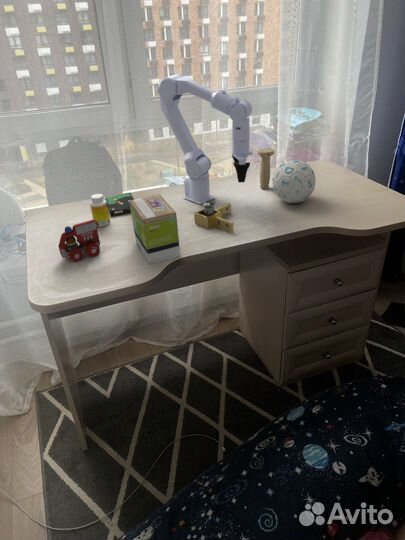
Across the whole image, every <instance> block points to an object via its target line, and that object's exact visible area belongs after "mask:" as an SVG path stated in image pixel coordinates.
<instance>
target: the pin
mask: <svg viewBox="0 0 405 540" xmlns="http://www.w3.org/2000/svg"><path fill="white" fill-rule="evenodd" d="M202 205H203V209H204V216H206V217H209V216H211V215H213V214H214V209H215V202H214V201H211V200H209V201H207V202H204V203H202Z"/></svg>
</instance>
